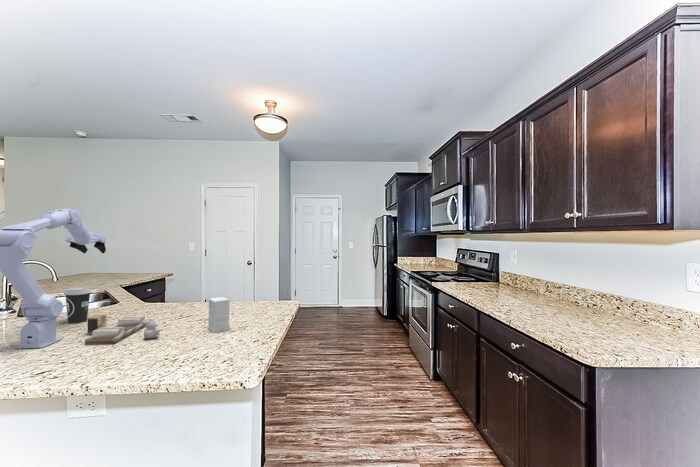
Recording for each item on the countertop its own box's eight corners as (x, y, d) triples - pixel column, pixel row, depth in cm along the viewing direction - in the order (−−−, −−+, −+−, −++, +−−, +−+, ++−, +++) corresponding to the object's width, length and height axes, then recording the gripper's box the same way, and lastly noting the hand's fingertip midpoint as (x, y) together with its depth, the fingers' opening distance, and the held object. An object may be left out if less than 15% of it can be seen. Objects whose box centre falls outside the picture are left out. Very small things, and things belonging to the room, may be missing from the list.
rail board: (114, 344, 117) (115, 332, 117) (84, 344, 116) (85, 333, 116) (150, 324, 143) (150, 314, 143) (125, 324, 142) (126, 315, 142)
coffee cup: (78, 324, 141) (79, 290, 141) (57, 324, 141) (58, 290, 141) (96, 319, 150) (97, 286, 150) (76, 318, 150) (77, 286, 151)
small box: (229, 330, 136) (229, 299, 136) (213, 333, 132) (214, 301, 132) (223, 326, 142) (223, 296, 142) (207, 328, 138) (208, 298, 138)
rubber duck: (151, 335, 128) (151, 315, 128) (164, 337, 126) (165, 316, 126) (139, 339, 122) (139, 318, 123) (153, 341, 121) (153, 320, 121)
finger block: (97, 335, 127) (97, 317, 127) (86, 335, 127) (86, 317, 127) (106, 330, 133) (106, 313, 133) (95, 331, 132) (96, 314, 132)
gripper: (102, 224, 138) (116, 244, 148) (64, 224, 136) (81, 244, 146) (94, 237, 133) (109, 256, 143) (56, 236, 131) (74, 256, 141)
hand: (95, 251), depth 144 cm, fingers open, 7 cm apart
